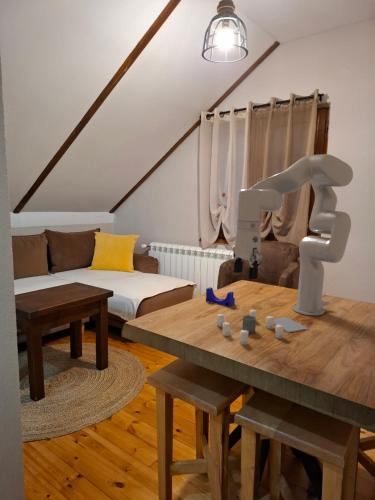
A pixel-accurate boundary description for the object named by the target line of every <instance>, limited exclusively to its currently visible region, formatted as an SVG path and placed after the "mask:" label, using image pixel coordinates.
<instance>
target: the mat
mask: <svg viewBox="0 0 375 500" xmlns="http://www.w3.org/2000/svg"><path fill="white" fill-rule="evenodd" d="M276 325H283V326H284V330H283V332H284V331H285V332H286V333H288V334H289V333H294V332H300V331H308V330H309V327H306V326H305V325H303V324H300V323H299V322H297V321H295V320H293V319H292V318H289V317H279V318H274V326H276Z"/></svg>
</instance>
